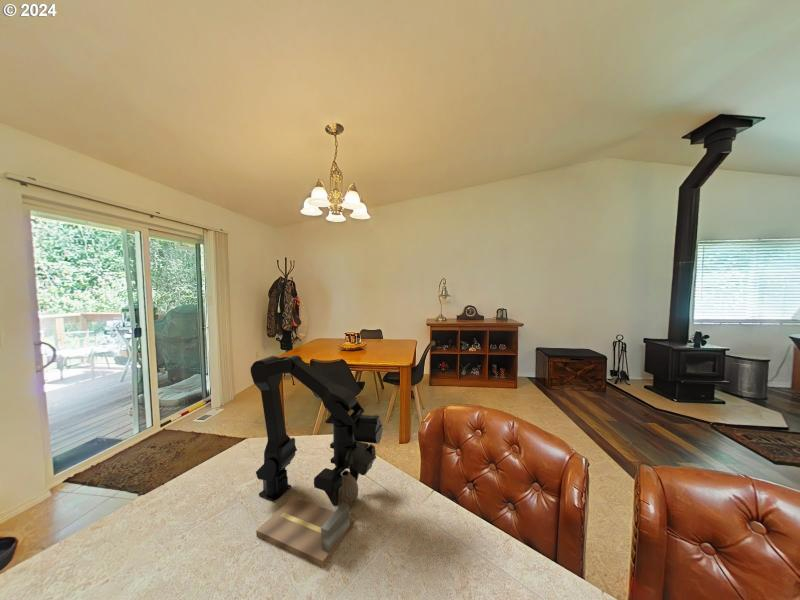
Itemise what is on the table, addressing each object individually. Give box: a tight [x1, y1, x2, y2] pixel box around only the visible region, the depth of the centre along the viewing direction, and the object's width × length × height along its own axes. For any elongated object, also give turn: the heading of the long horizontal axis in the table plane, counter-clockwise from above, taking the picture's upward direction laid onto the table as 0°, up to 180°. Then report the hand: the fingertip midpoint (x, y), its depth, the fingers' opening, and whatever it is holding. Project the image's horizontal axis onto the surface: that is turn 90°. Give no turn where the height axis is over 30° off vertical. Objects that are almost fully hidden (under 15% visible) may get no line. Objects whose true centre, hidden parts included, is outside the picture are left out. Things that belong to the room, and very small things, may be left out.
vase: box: [336, 469, 359, 509], centre depth 78 cm, size 7×7×9 cm
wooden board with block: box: [255, 496, 355, 569], centre depth 69 cm, size 20×12×6 cm, turn 66°
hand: (345, 494), depth 78 cm, fingers open, 9 cm apart
